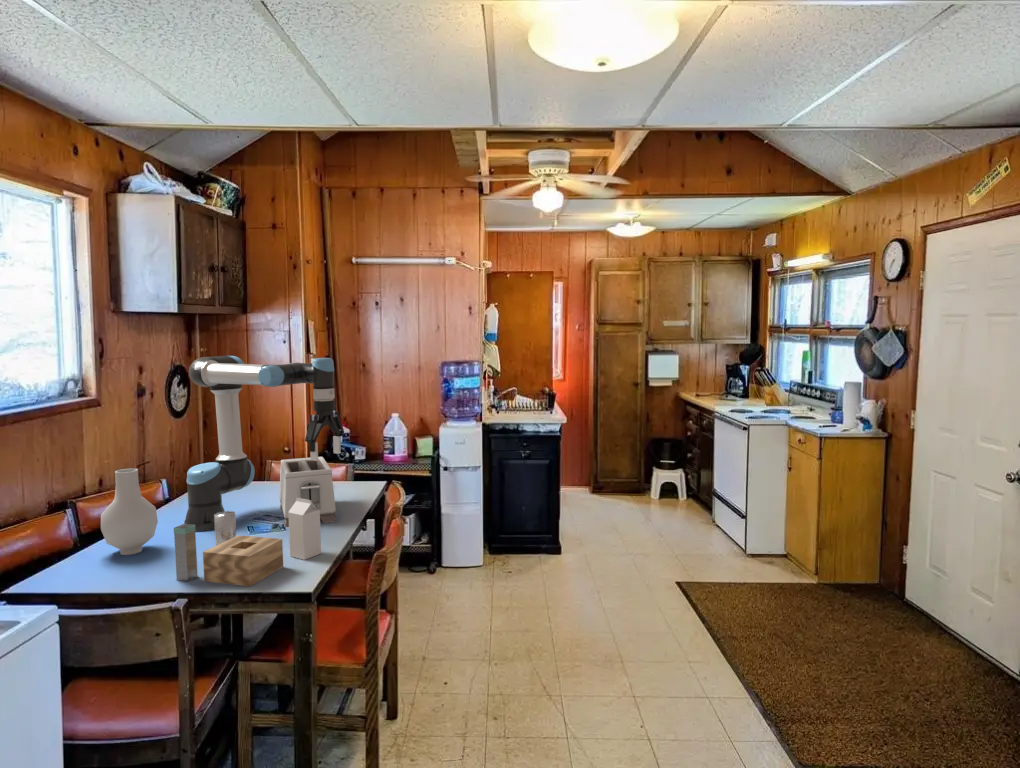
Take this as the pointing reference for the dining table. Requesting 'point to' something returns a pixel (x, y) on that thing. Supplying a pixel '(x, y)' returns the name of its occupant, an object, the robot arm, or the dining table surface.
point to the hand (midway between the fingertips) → (326, 456)
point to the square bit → (185, 552)
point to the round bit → (224, 526)
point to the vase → (128, 515)
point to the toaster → (307, 486)
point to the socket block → (243, 560)
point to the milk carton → (304, 529)
